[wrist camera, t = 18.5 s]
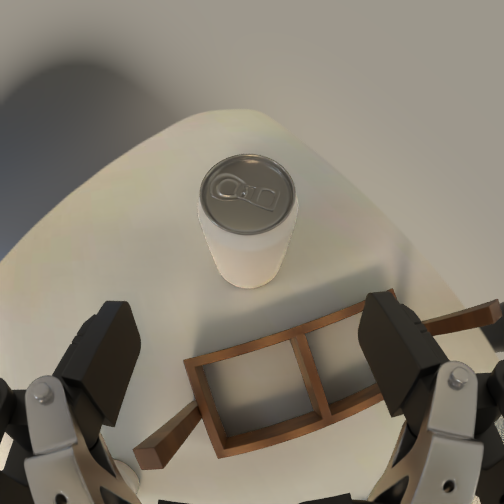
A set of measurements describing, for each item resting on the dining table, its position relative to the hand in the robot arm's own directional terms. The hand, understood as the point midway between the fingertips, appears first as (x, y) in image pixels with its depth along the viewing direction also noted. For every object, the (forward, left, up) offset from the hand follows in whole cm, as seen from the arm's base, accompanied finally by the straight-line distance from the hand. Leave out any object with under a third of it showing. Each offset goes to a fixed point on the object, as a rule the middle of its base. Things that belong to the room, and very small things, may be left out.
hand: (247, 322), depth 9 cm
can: (-2, -8, -17) cm, 19 cm away
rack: (-4, +5, -17) cm, 18 cm away
